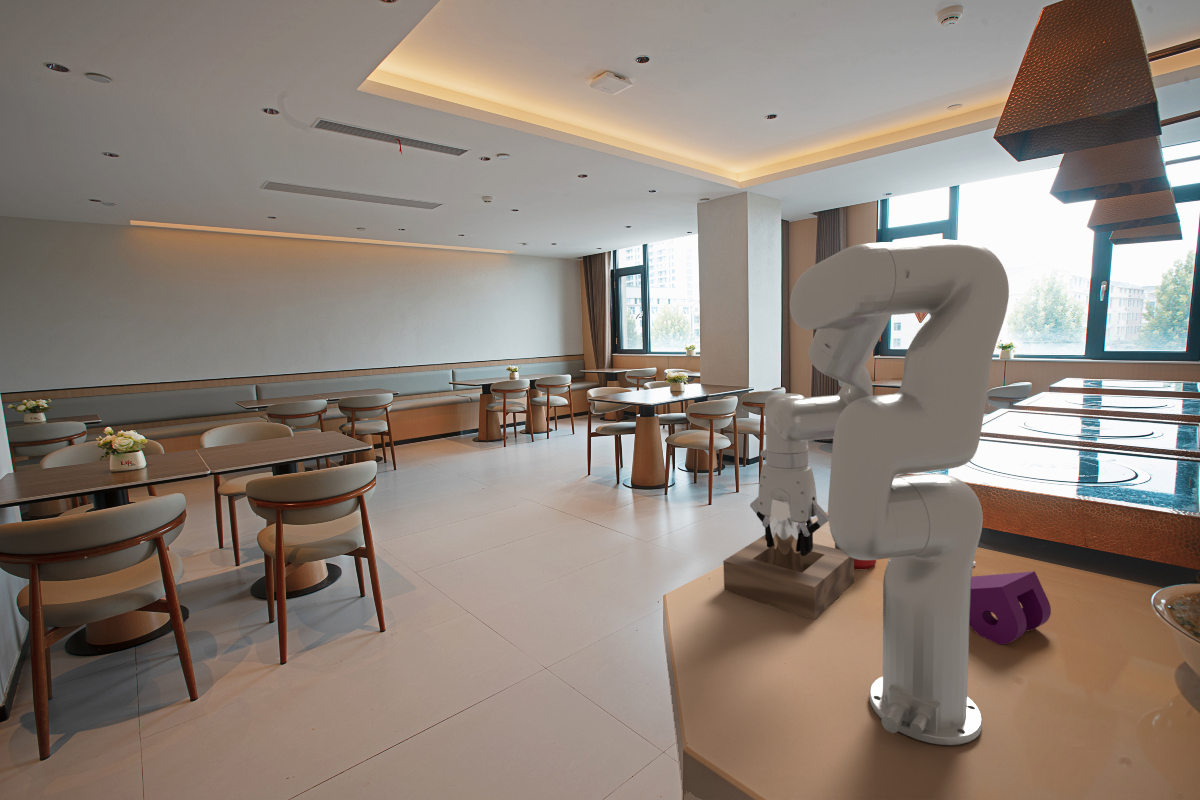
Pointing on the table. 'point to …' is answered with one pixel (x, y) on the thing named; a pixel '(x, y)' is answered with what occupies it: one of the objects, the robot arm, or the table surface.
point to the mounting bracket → (1007, 605)
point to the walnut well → (789, 578)
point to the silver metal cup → (785, 537)
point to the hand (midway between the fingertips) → (788, 548)
